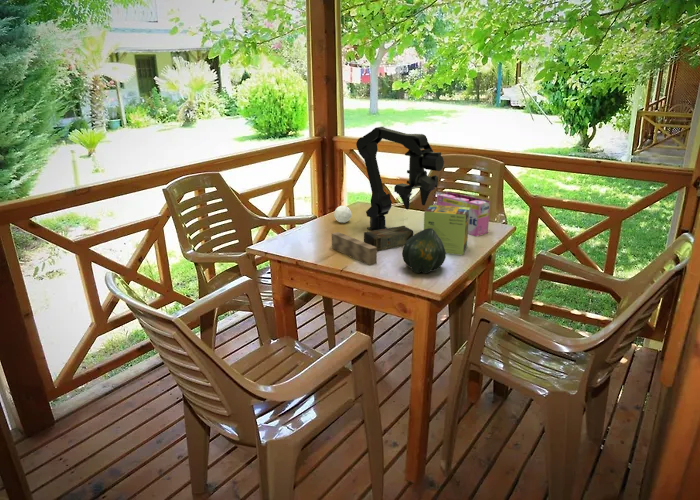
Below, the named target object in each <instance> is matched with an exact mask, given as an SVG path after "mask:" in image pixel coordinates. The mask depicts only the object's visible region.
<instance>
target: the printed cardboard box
mask: <svg viewBox="0 0 700 500" xmlns="http://www.w3.org/2000/svg"><path fill="white" fill-rule="evenodd" d="M412 236H414V230H412V229H411V228H409V227H408V226H407V227H406V225H401V226H394V227H386V229H380V230H374V231H372V230H369V231H364V232H363V242H365V243H367V244H370V245H372V246H375V247H377V252H379V251H383V250H388V249H394V248H398V247H404V245H405V243H406V241H407V240H408V239H409V238H411V237H412Z"/></svg>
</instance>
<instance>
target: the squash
mask: <svg viewBox="0 0 700 500" xmlns="http://www.w3.org/2000/svg"><path fill="white" fill-rule="evenodd" d="M402 247H403V248H402V252H401V256H402V259H403V262H404V263H405V265H406V266H407V267H409V268H410V269H411V271H412V272H413V273H416V274H419V273H423V274H428V273H430V272H432V271H437V270H438V269H439V268H440V267H442V266H443V264H444V263H445V260H446V255H447V253H445V248H444V245H443V242H442V241H441V239H440V238H439V237H438V235H437V234H436V232H435V231H434V230H433V228H428V229H425V230H424V229H423V230H420V231H419V232H416V233H415V234H413V236H412V237H411V238H409V239H408V240H407V241H406V243H405V245H404V246H402Z"/></svg>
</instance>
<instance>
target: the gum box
mask: <svg viewBox="0 0 700 500" xmlns="http://www.w3.org/2000/svg"><path fill="white" fill-rule="evenodd" d="M436 195H437V196H436V205H440V206H454V207H469V208H470V210H469V225H468V235H471V236H473V235H474V236H473V237H478V236H479V237H480V236H482V235H485V234H488V233H489V223H490V222H489V220H490V210H491V200H488V199H483V198H477V197H472V196H469V195H464V194H460V193H455V192H452V191H446V192H444V193H441V194H439V193H437V194H436Z"/></svg>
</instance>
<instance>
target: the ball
mask: <svg viewBox="0 0 700 500" xmlns="http://www.w3.org/2000/svg"><path fill="white" fill-rule="evenodd" d="M333 215H334V216H333V217H334V218H335V220H336V221H337V222H339V223H341V224H342V223H343V224H346V223H347V222H348V221H350V219H352V211H351V209H350V208H349V207H348V206H347V205H339V206H338V207H336V208H335V210H334V214H333Z"/></svg>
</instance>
